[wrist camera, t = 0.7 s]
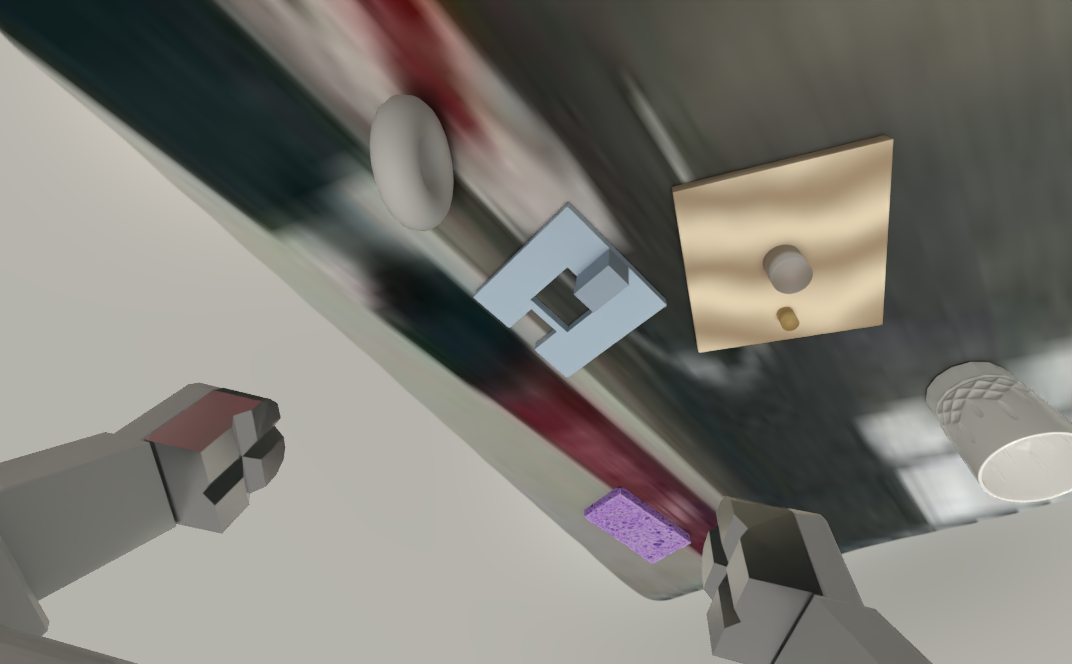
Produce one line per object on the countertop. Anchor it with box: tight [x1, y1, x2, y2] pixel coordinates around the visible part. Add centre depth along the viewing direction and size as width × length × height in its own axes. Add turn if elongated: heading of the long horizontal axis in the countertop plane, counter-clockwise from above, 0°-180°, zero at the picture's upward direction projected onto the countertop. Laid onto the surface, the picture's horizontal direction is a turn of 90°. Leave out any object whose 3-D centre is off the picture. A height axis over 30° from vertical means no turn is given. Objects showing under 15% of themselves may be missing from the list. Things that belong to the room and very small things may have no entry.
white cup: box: [926, 362, 1072, 502], centre depth 43 cm, size 8×8×10 cm
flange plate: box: [474, 202, 667, 378], centre depth 46 cm, size 13×13×5 cm
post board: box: [672, 135, 893, 353], centre depth 41 cm, size 16×16×4 cm
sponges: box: [584, 488, 691, 564], centre depth 64 cm, size 7×13×2 cm, turn 51°
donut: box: [370, 95, 454, 231], centre depth 38 cm, size 10×4×10 cm, turn 8°
